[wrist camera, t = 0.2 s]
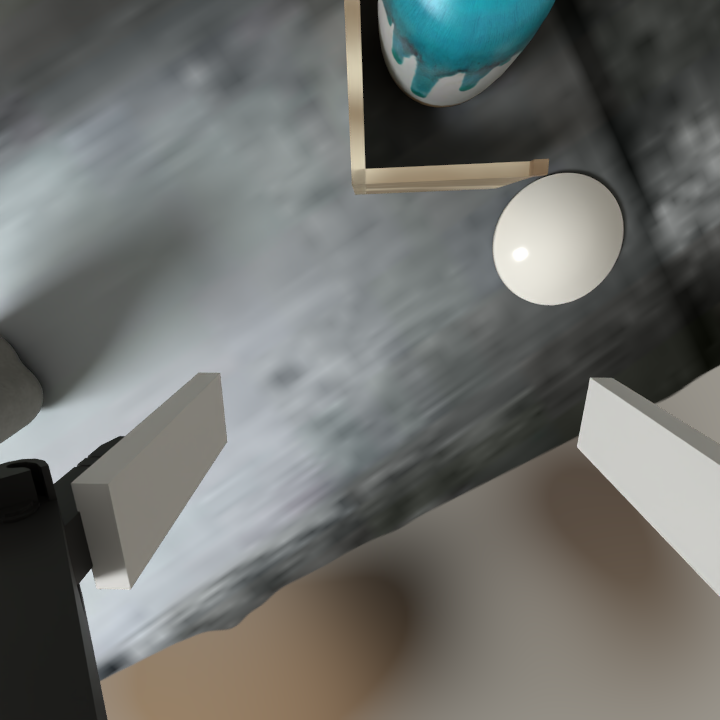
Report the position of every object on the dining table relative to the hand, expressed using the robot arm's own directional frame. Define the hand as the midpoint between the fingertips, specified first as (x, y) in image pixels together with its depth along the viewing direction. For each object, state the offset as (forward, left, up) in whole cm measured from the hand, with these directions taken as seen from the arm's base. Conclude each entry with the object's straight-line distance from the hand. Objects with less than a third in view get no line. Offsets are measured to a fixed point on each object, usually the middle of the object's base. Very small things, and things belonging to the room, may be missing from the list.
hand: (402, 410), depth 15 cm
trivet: (-4, +17, -28) cm, 33 cm away
